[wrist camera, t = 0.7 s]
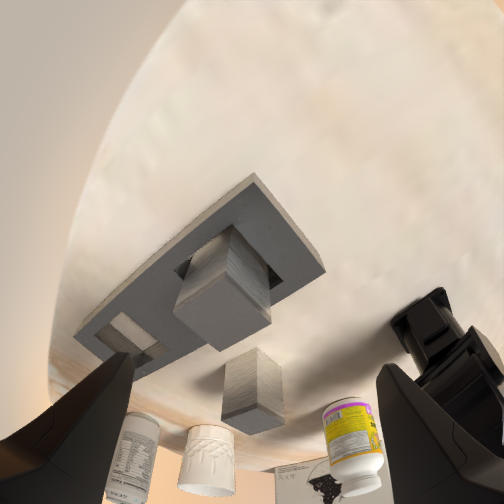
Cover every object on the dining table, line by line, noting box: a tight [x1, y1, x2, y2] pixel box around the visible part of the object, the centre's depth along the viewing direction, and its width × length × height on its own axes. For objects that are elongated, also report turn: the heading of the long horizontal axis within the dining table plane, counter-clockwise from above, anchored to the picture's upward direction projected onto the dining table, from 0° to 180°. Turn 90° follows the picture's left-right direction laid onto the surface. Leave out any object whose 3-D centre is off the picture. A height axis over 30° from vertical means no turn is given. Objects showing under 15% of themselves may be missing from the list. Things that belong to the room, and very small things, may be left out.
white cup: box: [177, 425, 235, 497], centre depth 32 cm, size 8×8×10 cm
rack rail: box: [73, 173, 326, 382], centre depth 23 cm, size 8×23×2 cm, turn 129°
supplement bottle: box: [322, 398, 384, 497], centre depth 27 cm, size 7×7×13 cm
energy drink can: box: [105, 413, 161, 504], centre depth 29 cm, size 6×6×15 cm
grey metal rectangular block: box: [173, 224, 271, 352], centre depth 19 cm, size 4×4×7 cm
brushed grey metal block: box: [221, 347, 285, 435], centre depth 25 cm, size 4×4×7 cm
